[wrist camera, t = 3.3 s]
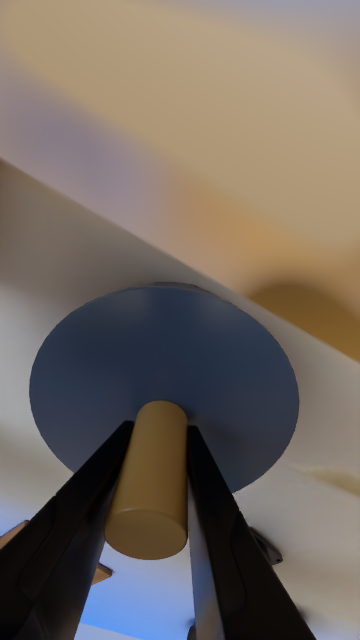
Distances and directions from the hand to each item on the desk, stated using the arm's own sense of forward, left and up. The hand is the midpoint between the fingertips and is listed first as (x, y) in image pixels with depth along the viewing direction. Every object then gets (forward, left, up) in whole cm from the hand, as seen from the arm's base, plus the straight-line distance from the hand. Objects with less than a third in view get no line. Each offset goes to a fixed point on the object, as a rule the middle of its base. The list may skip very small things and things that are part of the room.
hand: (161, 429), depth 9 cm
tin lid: (0, 0, -1) cm, 1 cm away
